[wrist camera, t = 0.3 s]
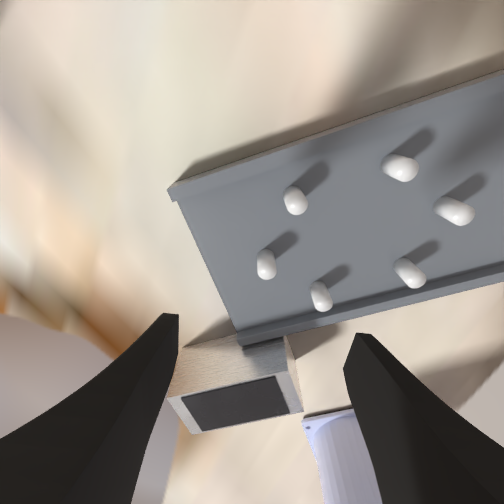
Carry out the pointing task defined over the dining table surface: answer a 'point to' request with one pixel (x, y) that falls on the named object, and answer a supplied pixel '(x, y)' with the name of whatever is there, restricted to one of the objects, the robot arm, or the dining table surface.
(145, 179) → the dining table surface
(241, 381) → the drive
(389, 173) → the pin tray
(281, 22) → the dining table surface
